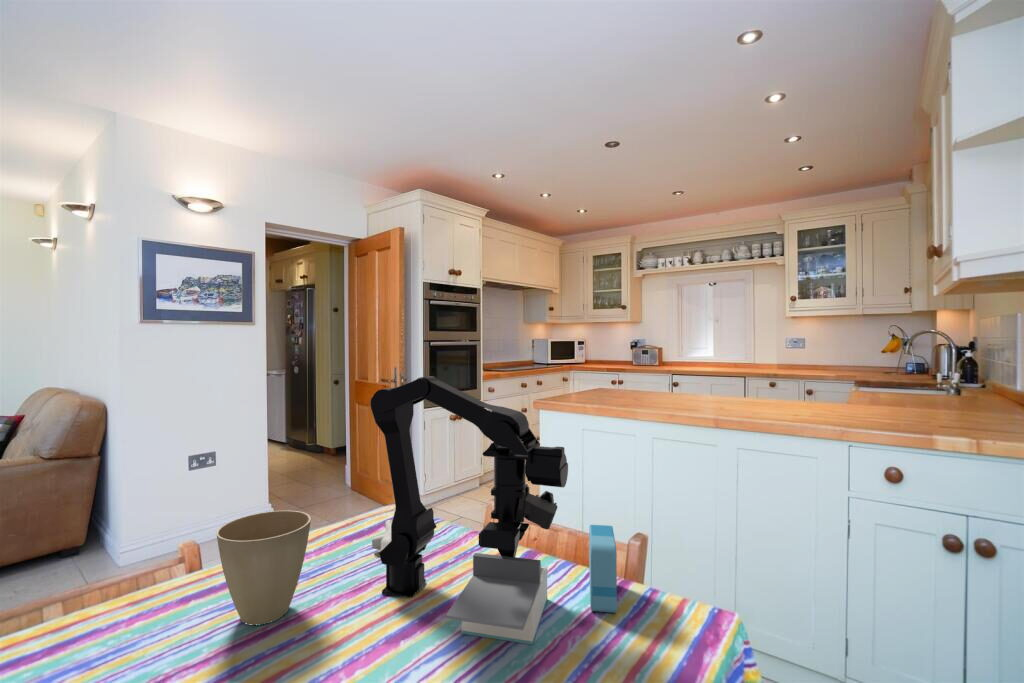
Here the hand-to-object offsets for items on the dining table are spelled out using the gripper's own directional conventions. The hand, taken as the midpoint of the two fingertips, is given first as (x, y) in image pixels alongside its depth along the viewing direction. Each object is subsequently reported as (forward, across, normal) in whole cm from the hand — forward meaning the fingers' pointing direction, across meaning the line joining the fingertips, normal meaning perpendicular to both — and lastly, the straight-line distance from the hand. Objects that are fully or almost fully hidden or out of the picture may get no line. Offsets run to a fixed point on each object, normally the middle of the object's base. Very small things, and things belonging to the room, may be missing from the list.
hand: (509, 567), depth 85 cm
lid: (+1, -9, 0) cm, 9 cm away
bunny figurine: (+8, +19, +33) cm, 39 cm away
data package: (+8, +8, -16) cm, 20 cm away
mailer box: (+8, -2, 0) cm, 8 cm away
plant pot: (+8, -12, +42) cm, 44 cm away
